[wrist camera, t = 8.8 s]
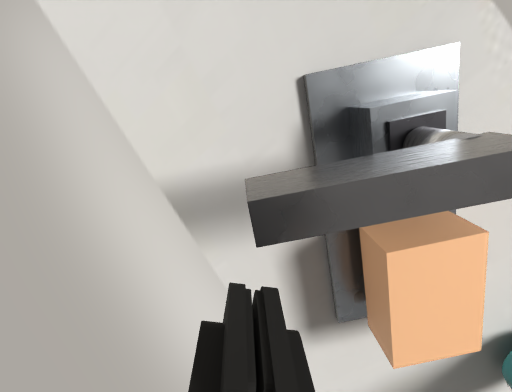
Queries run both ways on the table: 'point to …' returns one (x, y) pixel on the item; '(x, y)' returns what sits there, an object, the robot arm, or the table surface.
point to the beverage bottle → (508, 369)
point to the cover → (425, 286)
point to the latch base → (375, 133)
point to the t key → (382, 186)
